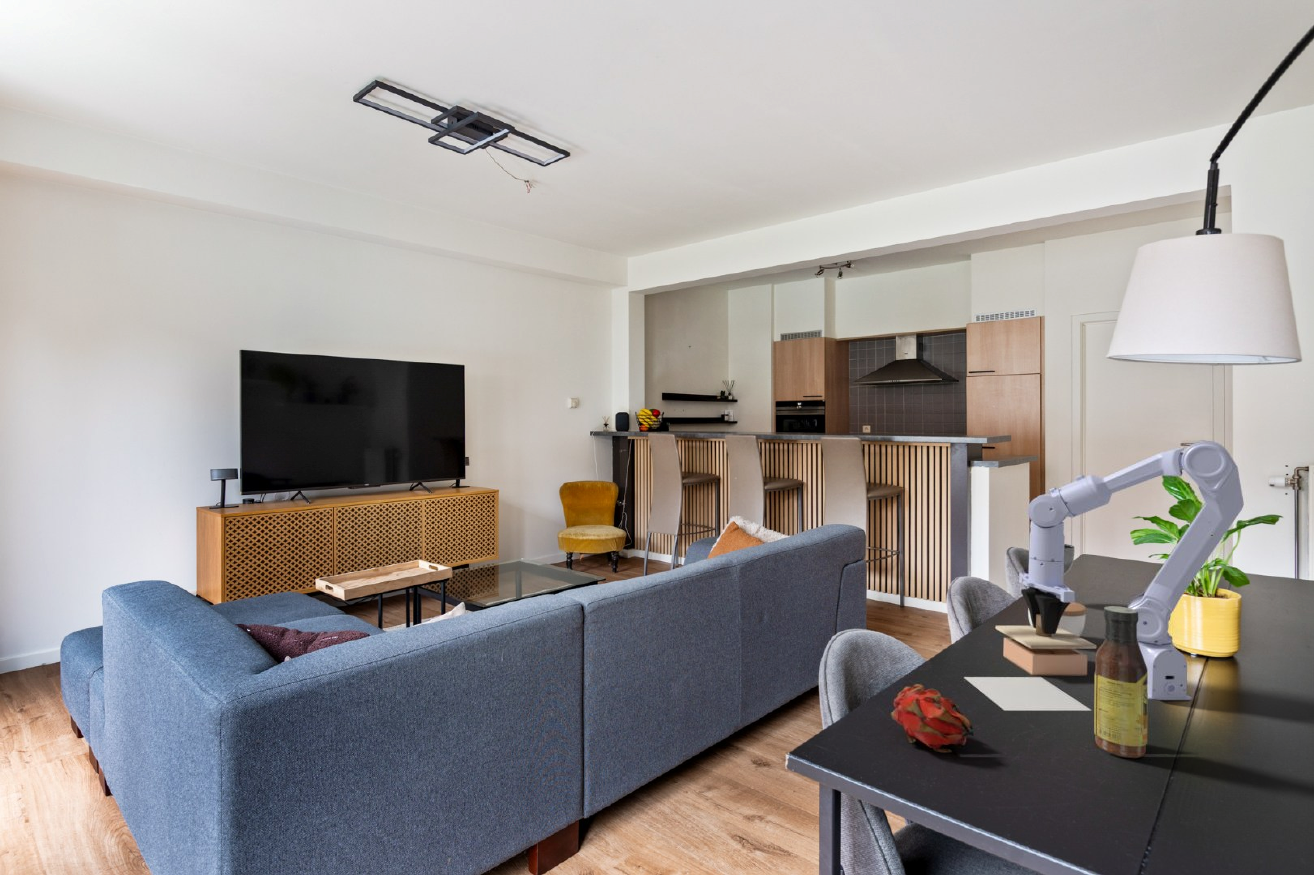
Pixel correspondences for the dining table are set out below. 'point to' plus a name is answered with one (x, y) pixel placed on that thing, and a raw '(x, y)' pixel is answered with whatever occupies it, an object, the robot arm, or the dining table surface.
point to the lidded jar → (1071, 618)
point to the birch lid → (1045, 637)
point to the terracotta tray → (1045, 659)
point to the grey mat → (1025, 694)
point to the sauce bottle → (1121, 687)
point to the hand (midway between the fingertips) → (1044, 630)
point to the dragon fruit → (930, 718)
